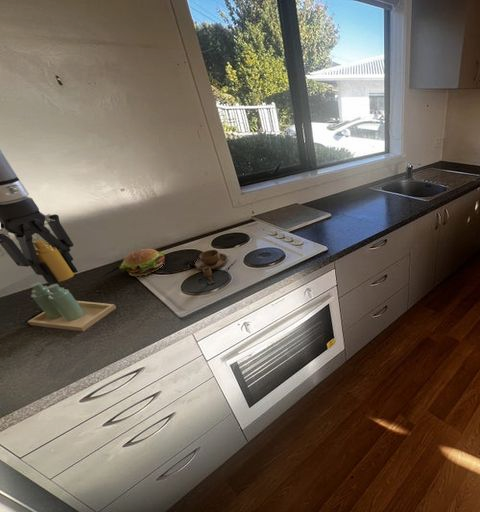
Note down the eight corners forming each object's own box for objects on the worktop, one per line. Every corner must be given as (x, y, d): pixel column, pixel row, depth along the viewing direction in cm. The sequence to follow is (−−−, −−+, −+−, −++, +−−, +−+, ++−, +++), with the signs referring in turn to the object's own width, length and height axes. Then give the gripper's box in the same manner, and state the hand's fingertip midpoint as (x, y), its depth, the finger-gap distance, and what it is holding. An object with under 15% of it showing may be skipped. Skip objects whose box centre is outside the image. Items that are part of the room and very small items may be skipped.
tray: (31, 326, 89) (27, 321, 88) (67, 303, 98) (64, 299, 97) (84, 332, 87) (80, 327, 86) (116, 308, 96) (114, 304, 95)
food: (141, 260, 122) (132, 243, 118) (174, 260, 122) (166, 243, 118) (115, 279, 111) (104, 261, 106) (151, 278, 110) (142, 261, 106)
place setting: (240, 257, 124) (237, 245, 121) (214, 284, 107) (209, 271, 104) (201, 256, 125) (197, 244, 122) (169, 283, 108) (163, 270, 105)
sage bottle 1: (44, 318, 91) (20, 288, 85) (60, 309, 95) (38, 279, 89) (57, 320, 91) (33, 289, 85) (72, 310, 95) (50, 280, 89)
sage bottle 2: (61, 320, 91) (37, 290, 84) (76, 310, 95) (54, 280, 88) (73, 321, 90) (50, 291, 84) (88, 311, 94) (67, 282, 88)
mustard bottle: (48, 281, 82) (20, 244, 76) (65, 272, 86) (40, 236, 80) (61, 282, 82) (35, 245, 76) (78, 273, 86) (54, 237, 80)
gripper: (-27, 214, 64) (38, 296, 76) (60, 189, 79) (103, 261, 91) (-54, 213, 65) (15, 294, 77) (37, 188, 80) (83, 260, 92)
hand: (63, 276), depth 84 cm, fingers closed on mustard bottle, 5 cm apart
